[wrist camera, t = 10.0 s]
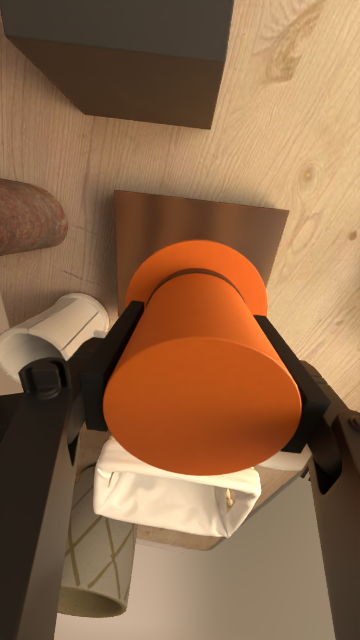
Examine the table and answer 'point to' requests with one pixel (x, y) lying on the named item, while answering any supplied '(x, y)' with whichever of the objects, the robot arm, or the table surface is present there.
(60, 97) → the table surface
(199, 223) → the brown wooden board
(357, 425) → the robot arm
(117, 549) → the planter
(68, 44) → the television
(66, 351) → the cup
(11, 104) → the table surface
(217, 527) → the basket
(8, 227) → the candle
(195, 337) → the hat
